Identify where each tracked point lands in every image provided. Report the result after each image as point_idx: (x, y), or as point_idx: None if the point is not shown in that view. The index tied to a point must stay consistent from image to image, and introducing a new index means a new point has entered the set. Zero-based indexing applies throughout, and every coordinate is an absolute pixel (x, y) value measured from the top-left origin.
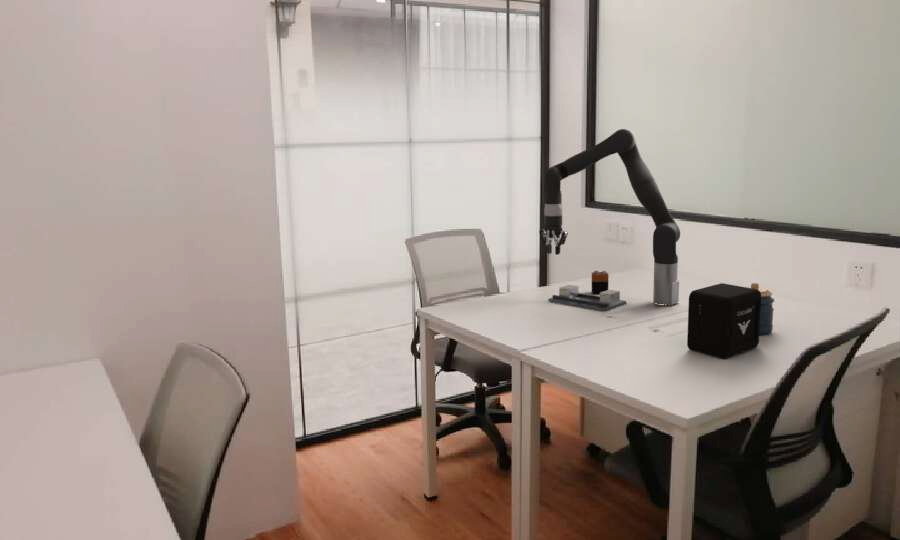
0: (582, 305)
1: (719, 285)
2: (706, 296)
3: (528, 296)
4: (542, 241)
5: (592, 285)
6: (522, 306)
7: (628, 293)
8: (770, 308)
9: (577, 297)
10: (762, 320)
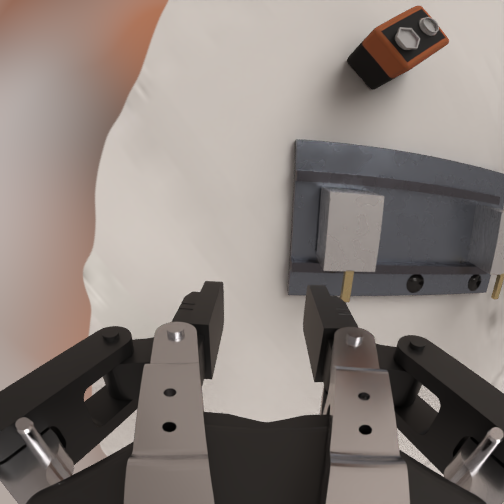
0: (426, 294)
1: None
2: None
3: (173, 263)
4: (109, 396)
5: (374, 73)
6: (249, 376)
7: (447, 35)
8: None
9: None
10: None
